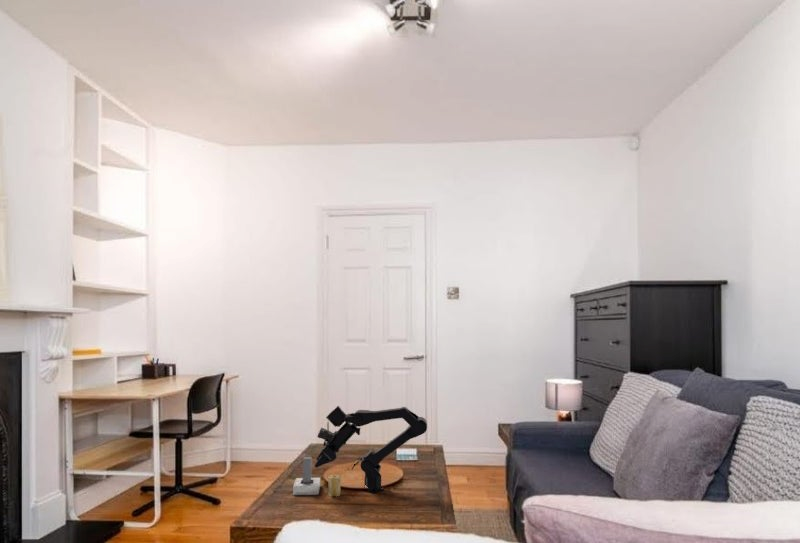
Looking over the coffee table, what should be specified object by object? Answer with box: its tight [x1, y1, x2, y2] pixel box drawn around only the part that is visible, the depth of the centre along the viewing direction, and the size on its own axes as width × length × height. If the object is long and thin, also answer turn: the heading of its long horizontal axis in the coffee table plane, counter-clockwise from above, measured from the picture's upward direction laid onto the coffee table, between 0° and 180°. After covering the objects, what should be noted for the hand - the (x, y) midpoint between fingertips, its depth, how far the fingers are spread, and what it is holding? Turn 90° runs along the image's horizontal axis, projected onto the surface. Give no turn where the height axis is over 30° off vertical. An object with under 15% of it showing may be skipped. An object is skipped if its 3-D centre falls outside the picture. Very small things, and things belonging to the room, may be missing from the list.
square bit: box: [302, 456, 313, 484], centre depth 212 cm, size 3×3×13 cm
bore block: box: [292, 477, 321, 496], centre depth 212 cm, size 10×10×4 cm
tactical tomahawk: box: [354, 456, 363, 463], centre depth 248 cm, size 21×7×1 cm, turn 166°
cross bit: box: [327, 474, 341, 498], centre depth 207 cm, size 5×5×7 cm
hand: (316, 463), depth 213 cm, fingers open, 9 cm apart
